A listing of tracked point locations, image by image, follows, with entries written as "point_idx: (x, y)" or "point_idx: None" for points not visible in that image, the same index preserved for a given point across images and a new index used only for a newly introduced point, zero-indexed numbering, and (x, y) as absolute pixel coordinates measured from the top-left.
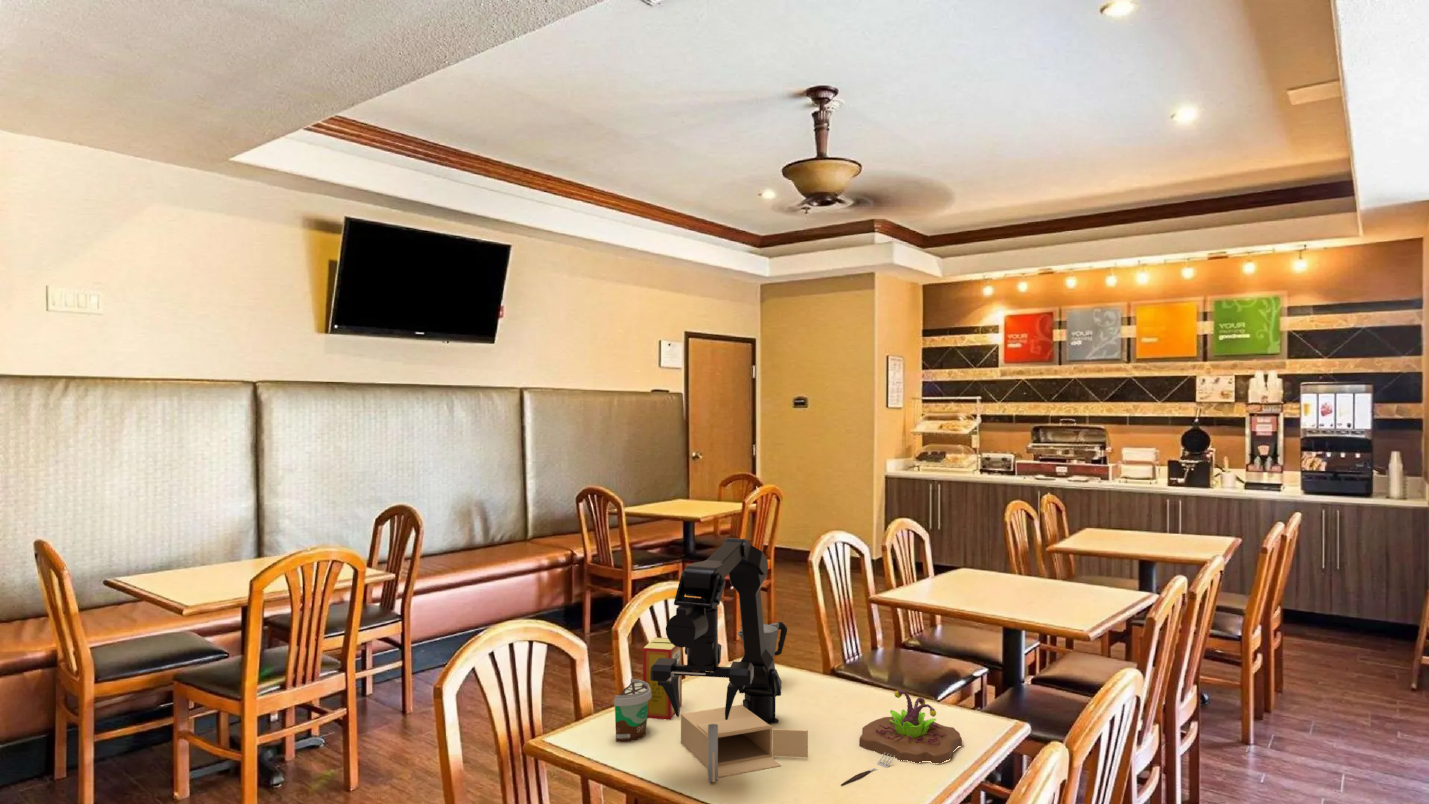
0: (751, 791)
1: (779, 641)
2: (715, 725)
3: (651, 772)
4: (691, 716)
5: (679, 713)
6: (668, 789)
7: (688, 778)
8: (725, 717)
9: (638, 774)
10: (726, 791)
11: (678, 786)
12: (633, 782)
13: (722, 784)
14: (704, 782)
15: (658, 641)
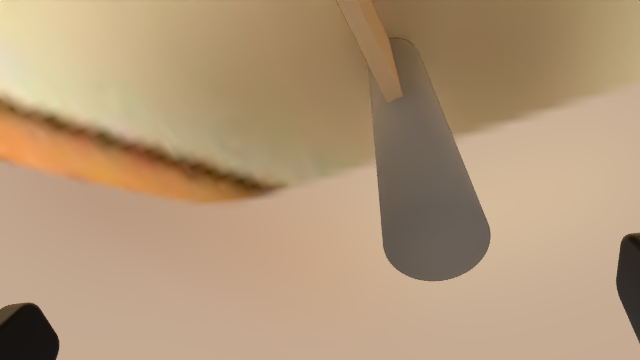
0: (611, 80)
1: None
2: (461, 230)
3: (47, 45)
4: None
5: (27, 330)
6: (223, 181)
7: (252, 47)
8: (636, 328)
9: (11, 89)
10: (482, 120)
11: (249, 143)
12: (52, 168)
13: (445, 54)
14: (348, 63)
15: None
